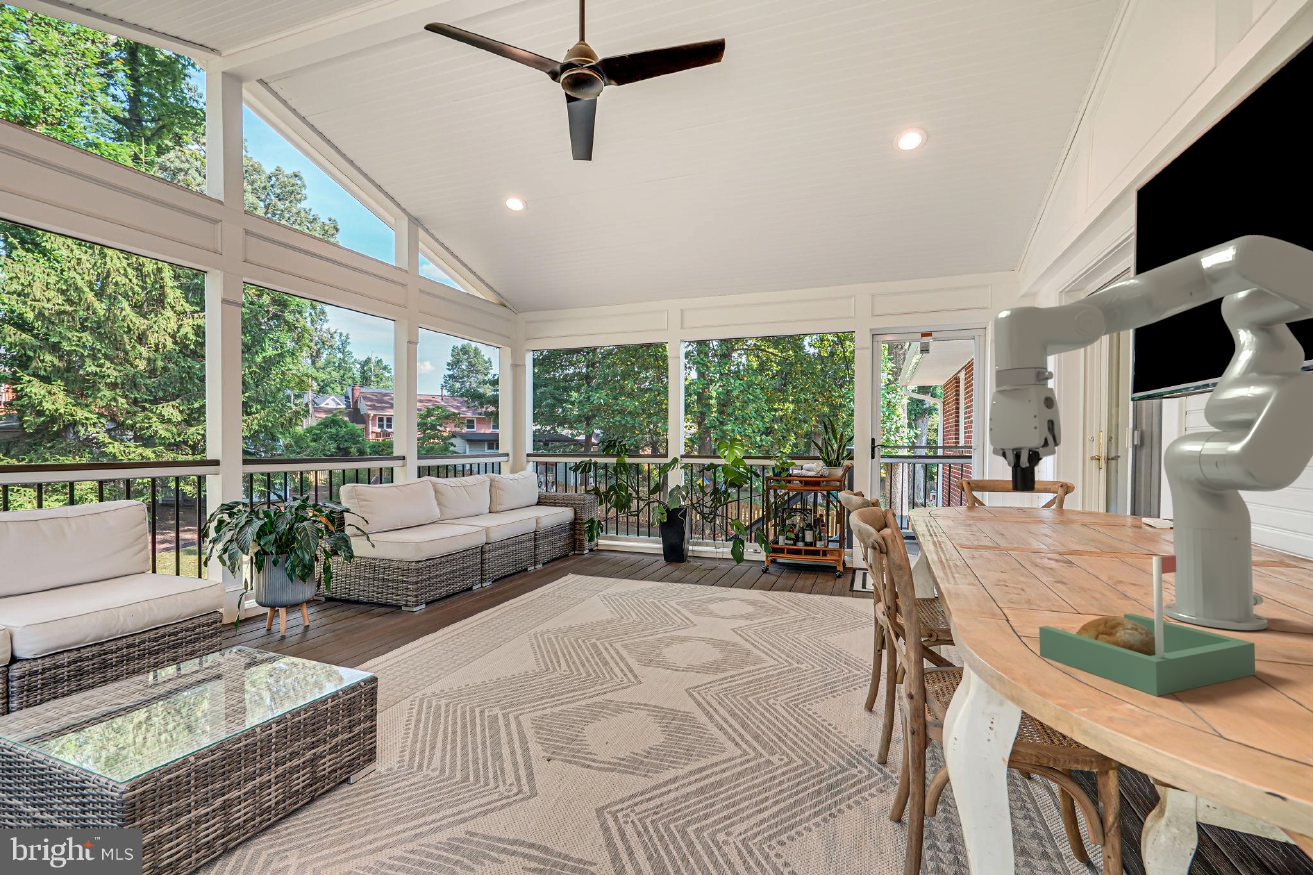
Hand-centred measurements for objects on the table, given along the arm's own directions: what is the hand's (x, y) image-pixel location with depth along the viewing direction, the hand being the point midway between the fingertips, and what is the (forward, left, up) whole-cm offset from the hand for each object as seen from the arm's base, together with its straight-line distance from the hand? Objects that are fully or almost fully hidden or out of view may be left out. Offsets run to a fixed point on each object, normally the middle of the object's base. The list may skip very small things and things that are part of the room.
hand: (1023, 490), depth 98 cm
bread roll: (+5, +17, -22) cm, 29 cm away
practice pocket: (+3, +18, -22) cm, 29 cm away
